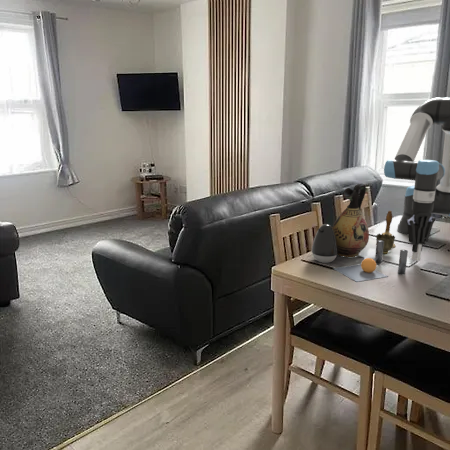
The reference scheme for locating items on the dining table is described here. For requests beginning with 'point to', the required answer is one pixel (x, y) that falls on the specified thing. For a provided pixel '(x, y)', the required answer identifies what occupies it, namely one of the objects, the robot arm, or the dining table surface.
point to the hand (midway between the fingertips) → (415, 259)
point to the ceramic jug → (352, 224)
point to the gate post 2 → (402, 262)
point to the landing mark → (359, 273)
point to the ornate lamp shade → (386, 242)
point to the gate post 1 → (379, 251)
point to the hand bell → (388, 225)
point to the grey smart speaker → (325, 244)
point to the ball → (368, 265)
